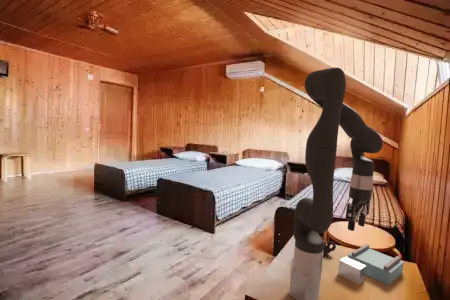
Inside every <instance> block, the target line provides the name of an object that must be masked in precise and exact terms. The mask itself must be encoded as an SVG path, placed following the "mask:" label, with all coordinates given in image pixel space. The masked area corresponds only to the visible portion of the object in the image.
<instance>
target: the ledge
mask: <svg viewBox="0 0 450 300" xmlns="http://www.w3.org/2000/svg"><path fill="white" fill-rule="evenodd" d="M347 257H348V258H350V259H352V260H355V261H357V262H359V263H361V264H364V265H366V271H365V276H369V277H370V278H372V279H375V280H377V281H379V282H381V283H383V284H386V285H388V286H390V285H392V284H393V282H395V281H396V280H397V279H398V278H399V277H400V276H402V275H403V270H404V263H405V261H403V260H401V256H399V255H396V256H395V257H392V256H390V255H387V254H384V253H382V252H379V251H377V250H374V249H372V248H370V244H367V243H366V244H364V245H362V246H361V247H359V248H357V249H355V250H353V251H352V252H350V253H349V254H348V255H347Z"/></svg>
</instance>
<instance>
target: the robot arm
mask: <svg viewBox="0 0 450 300" xmlns="http://www.w3.org/2000/svg"><path fill="white" fill-rule="evenodd" d="M346 88H347V77H346V73H345V72H344V69H342V68H341V67H331V68H330V67H329V68H325V69H319V70H315V71H312V72H310V73H309V74H308V75H307V76H306V78H305V81H304V89H305V92H306V95H307V96H308V97H309V98H310V99H311V100H312V101H314V102H315V103H316V104H317V105H318V106H319V107H320V108H321V113H320V116H319V119H318V120H317V122H316V124H315V125H314V127H313V128H312V129H311V130H310V133H309V135H308V137H307V140H306V144H305V155H304V156H305V157H304V159H305V160H304V161H305V167H306V170H307V172H308V176H309V178H310V181H311V185H312V198H310V197H303V198H301V199H300V200H299V201H298V202H297V203H296V206H295V209H294V213H293V215H294V216H293V230H292V231H293V232H292V233H293V239H294V250H293V251H294V253H293V259H292V268H291V271H290V280H289V281H290V282H289V293H288V295H289V296H290V297H292V298H293V299H295V300H320V299H319V298H320V292H321V289H320V288H321V279H322V269H323V261H324V256H323V251H324V241H323V240H322V238H321V237H322V236H321V235H320V234H324V233H325V232H327V231H329V229H330V227H331V224H332V222H333V217H334V179H335V178H334V177H335V165H336V158H337V151H338V149H337V148H338V136H339V128H341V129H342V130H343V131H344V133H345V134H346V135H347V137H348V138H349V139H351V140H350V143H349V144H350V151H351V157H352V163H353V164H352V172H351V178H350V182H349V183H350V184H349V189H348V190H349V191H348V197H349V198H350V199H351V200H352V201H351V202H347V203H346V204H347V205H346V212H345V218H344V219H346V220H348V221H347V223H348V224H347V230H348V231H351V232H353V231H355V227H356V220H357V218H358V221H357V225H358V226H360V227H363V228H364V227H365V223H366V218H367V217H368V216H369V214H370V206H371V205H370V204H371V200H372V194H373V186H374V170H375V162H374V161H373V160H372V159H369V158H367V157H366V156H365V153H366V154H377V153H379V152H380V151H382V149H383V146H384V142H383V138H382V137H381V135H380V133H378V132H377V131H376V130H374V129H373V128H371V127H370V126H369V125H367V124H366V122H365V121H364V119H363V118H362V116H361V115H360V113H358V112H357V110H355V109H354V108H352V107H351V106H349V105H348V104H346V103H344V99H345V94H346V90H347V89H346ZM339 126H340V127H339Z"/></svg>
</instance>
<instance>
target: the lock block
mask: <svg viewBox="0 0 450 300" xmlns="http://www.w3.org/2000/svg"><path fill="white" fill-rule="evenodd" d="M365 271H366V265H364V264H361V263H359V262H357V261H355V260H352V259H350V258H348V256H344V257H342V258H340V259H339V260H338V269H337V274H338V275H339V276H341V277H343V278H344V279H346V280H349V281H351V282H353V283H354V284H356V285H360V284H361V283H362V282H364V281H365V279H366V278H365V277H366V274H365Z"/></svg>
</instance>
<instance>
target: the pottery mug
mask: <svg viewBox="0 0 450 300" xmlns="http://www.w3.org/2000/svg"><path fill="white" fill-rule="evenodd" d="M320 237H321V238H322V240H323V241H324V251H323V257H328V256H329V254H330V253H331V252H334V251H335V250H336V248H337V246H336V242H334V241H331V240H329V241H328V240H327V239H326V237H324V236H320ZM331 245H332V247H331Z"/></svg>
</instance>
